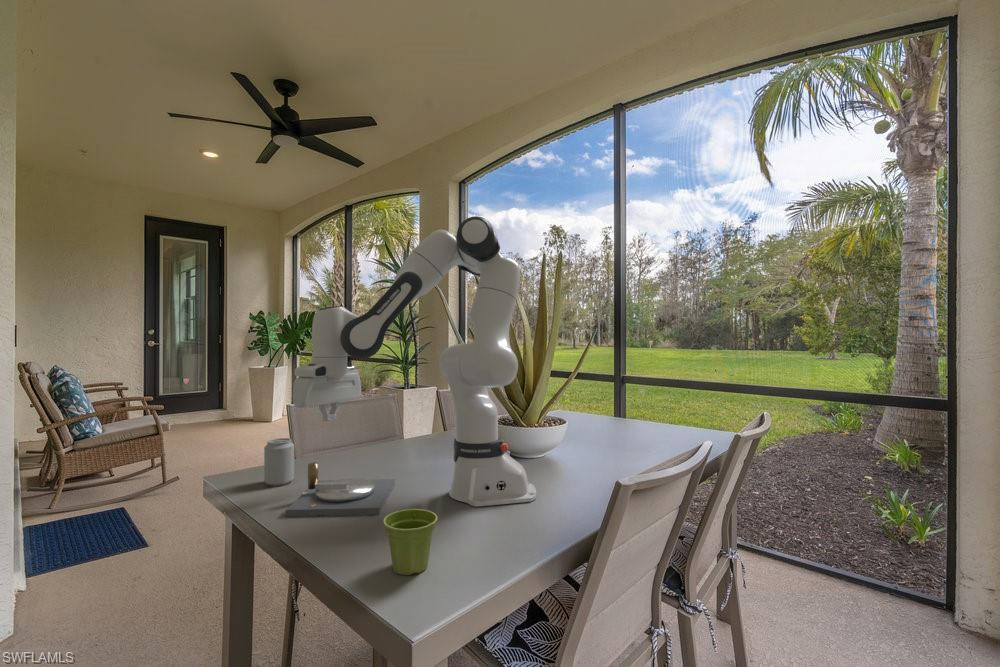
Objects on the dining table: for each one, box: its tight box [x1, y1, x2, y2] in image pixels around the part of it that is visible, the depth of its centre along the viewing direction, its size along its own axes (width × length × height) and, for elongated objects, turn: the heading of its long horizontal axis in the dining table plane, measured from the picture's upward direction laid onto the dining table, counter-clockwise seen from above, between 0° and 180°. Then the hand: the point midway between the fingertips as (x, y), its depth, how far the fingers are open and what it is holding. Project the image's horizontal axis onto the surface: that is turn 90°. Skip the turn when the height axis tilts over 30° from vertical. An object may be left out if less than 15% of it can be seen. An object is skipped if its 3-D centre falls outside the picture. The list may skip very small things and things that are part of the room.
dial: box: [307, 461, 374, 502], centre depth 116 cm, size 16×14×7 cm
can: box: [263, 437, 295, 487], centre depth 128 cm, size 8×8×12 cm
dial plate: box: [285, 478, 396, 517], centre depth 116 cm, size 21×21×2 cm
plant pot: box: [383, 508, 438, 576], centre depth 82 cm, size 9×9×9 cm
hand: (329, 420), depth 121 cm, fingers closed
